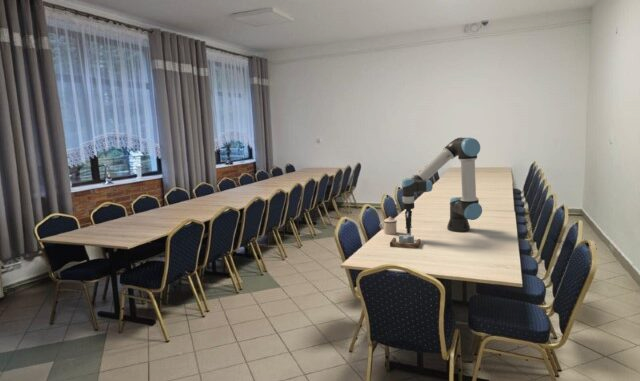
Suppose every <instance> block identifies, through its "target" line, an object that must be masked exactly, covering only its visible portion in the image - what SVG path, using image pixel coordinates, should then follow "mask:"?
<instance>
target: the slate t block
mask: <svg viewBox="0 0 640 381" xmlns="http://www.w3.org/2000/svg"><path fill="white" fill-rule="evenodd" d="M398 242H402V243H415V236H414V235H412V234H411V235H407V234H399V235H398Z"/></svg>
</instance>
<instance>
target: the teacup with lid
mask: <svg viewBox="0 0 640 381" xmlns="http://www.w3.org/2000/svg"><path fill="white" fill-rule="evenodd" d="M397 222H398V221H397V220H396V219H395V218H393V217H392V216H388V218H387V217H386V218H385V219H384V220H383V222H380V223H379V227H380V229H381V230H383V233H384V234H385V235H396V234H397ZM382 224H383V227H382Z"/></svg>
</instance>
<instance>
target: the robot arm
mask: <svg viewBox="0 0 640 381" xmlns="http://www.w3.org/2000/svg"><path fill="white" fill-rule="evenodd" d="M480 151H481V144H480V142H479V141H478V140H477V139H476V138H474V137H456V138H454V139H453V140H452V141H450V142H449V143H448V144H447V145H446V146H444V147H443V150H442V152H440V153H439V154H438V155H437V156H435V158H434V159H432V160H431V161H430V162H429V163H428V164H427V165H426V166H425V167H424V168H422V169H421V170H420V171H419V172H418V173H417V174H416V175H415V176H413V177H410V178H409V177H407V178H403V179H402V184H401V188H402V190H401V192H402V196H401V199H402V209H403V210H405V212H404V214H405V215H404V217H405V229H406V235H411V236H412V228H413V226H412V216H413V211H412V210H414V209H415V194H417V193H419V194H420V193H429V192H432V190H433V182H432V180H430V178H431V177H433V176H434V175H435V174H436V173H437V172H438V171H439V170H440V169H441V168H442V167H444V166H445V165H446V164H447V163H448V162H449V161H450V160H454V159H455V158H456V157H457V158H458V160H459V162H460V173H461V175H460V176H461V196H457V197H456V196H455V197H451V198H450V199H449V220H448V223H447V226H446V228H447V230H448V231H450V232H454V233H455V232H457V233H458V232H459V233H463V232H464V233H465V232H469V231H470V230H471V226H470V225H471V224H470V223H469V221H474V220H477V219H479V218H480V217H481V215H482V213H483V207H482V205H481V204H480V203H479V198H478V197H477V191H476V189H477V187H476V186H477V184H476V160H477V159H478V154H479V153H480Z"/></svg>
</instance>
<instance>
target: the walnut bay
mask: <svg viewBox="0 0 640 381" xmlns="http://www.w3.org/2000/svg"><path fill="white" fill-rule="evenodd" d="M420 245H421V238H418V239H417V240H416V242H414V243H402V242H399V241H397V237H393V238H392V239H391V240H390V242H389V247H390V248H392V247H393V248H405V249H406V248H407V249H419V248H420Z"/></svg>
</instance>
